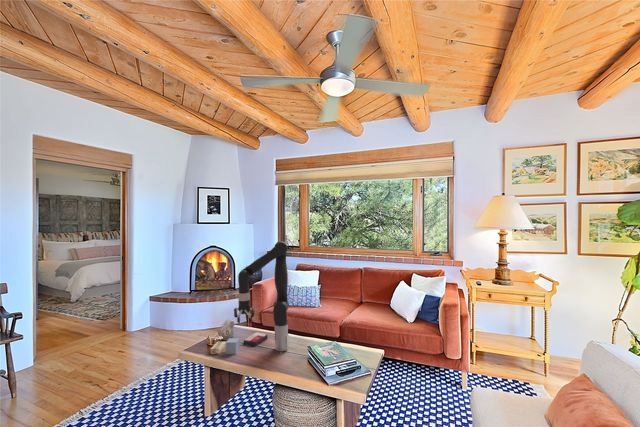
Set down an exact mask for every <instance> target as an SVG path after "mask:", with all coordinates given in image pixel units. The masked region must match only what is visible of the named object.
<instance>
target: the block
mask: <svg viewBox="0 0 640 427" xmlns="http://www.w3.org/2000/svg"><path fill="white" fill-rule="evenodd" d="M225 342H226V347H225V355H237V354H238V352H239V351H240V338H239V337H238V338H234V337H231V338H229V339H228V340H226V341H225Z"/></svg>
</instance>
